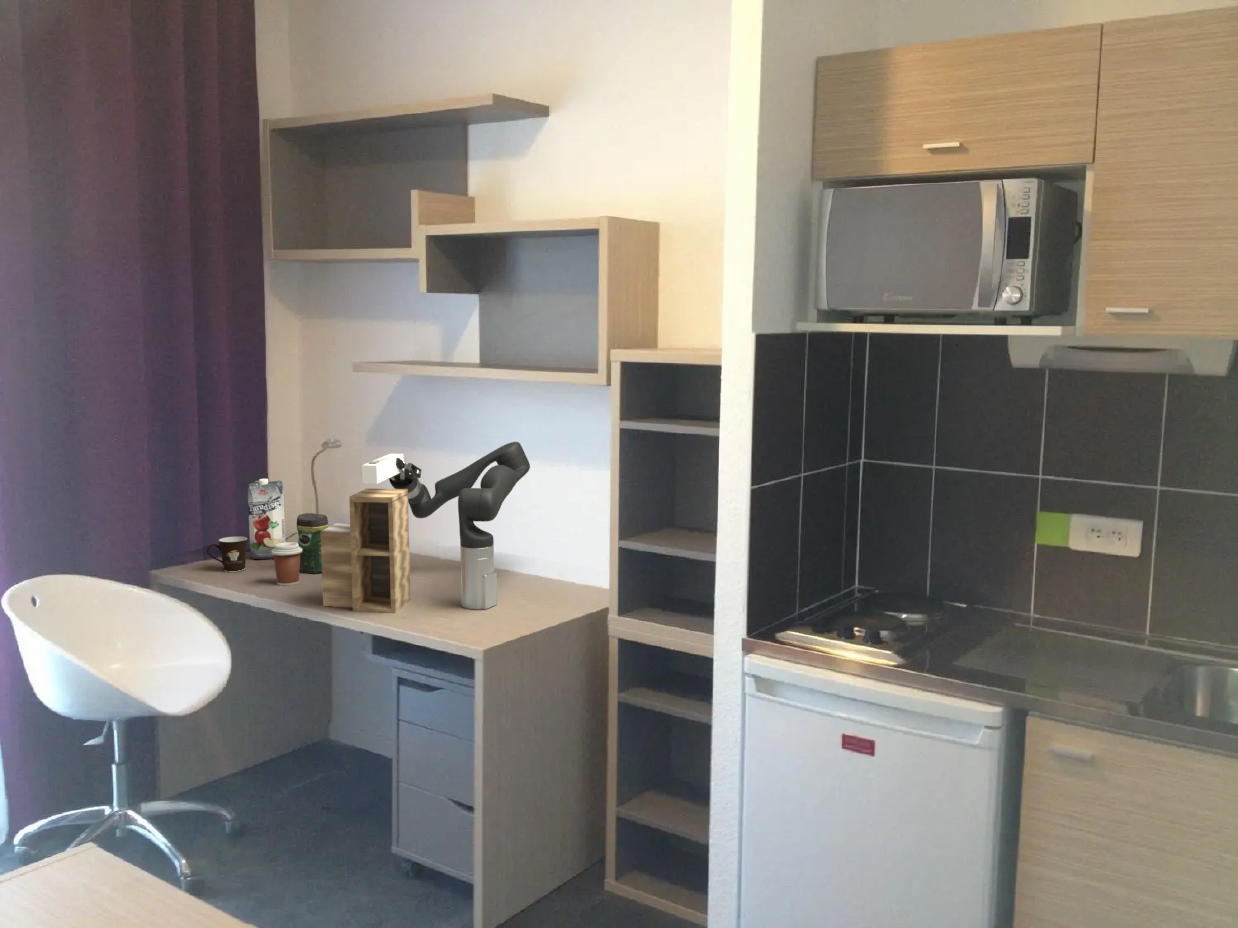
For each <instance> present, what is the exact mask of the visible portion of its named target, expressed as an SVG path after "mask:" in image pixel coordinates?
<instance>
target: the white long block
mask: <svg viewBox="0 0 1238 928" xmlns="http://www.w3.org/2000/svg"><path fill="white" fill-rule="evenodd" d="M396 458H400V459H401V460H402V461H403V462H405V461H404V453H389V454H386V455H383V456H381V457H379V458H376V459H374V460H372V461H369V462H367V463H364V464H361V470H362V471H361V473H362V474H361V475H362V476H361V477H362V484H363V485H364V484H366V485H369V484H370V485H371V484H373V485H377V484H380V483H382V482H384V481H387V480H389V479H388V478H390V477H392V476H395V475H397V474H399V473H401V471H400V470H401V469H399V468H398V467H397V466H396Z"/></svg>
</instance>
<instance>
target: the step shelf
mask: <svg viewBox="0 0 1238 928" xmlns="http://www.w3.org/2000/svg"><path fill="white" fill-rule="evenodd" d="M409 518H410V515H409V503H408V489H394V488H364V489H363V490H360V491H358V492H356V493H353V494H351V495H349V522H348V523H347V522H336V523H334V524H332V525H330V526H328V528H326V529H324V530H322V532H321V556H322V572H321V578H322V579H321V580H322V583H321V584H322V604H323V605H322V607H325V606H333V607H334V608H352V612H358V613H359V612H361V613H365V612H367V613H397V612H398V611H399V610H400V609H402V608H403V607H404V606H405V605H406V604H408V602H409V601H411V572H410V571H411V567H410V563H411V562H410V526H409V525H410V522H409ZM333 607H332V608H333Z"/></svg>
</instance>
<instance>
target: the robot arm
mask: <svg viewBox="0 0 1238 928" xmlns="http://www.w3.org/2000/svg"><path fill="white" fill-rule="evenodd" d="M495 462H496V465H493V466H492V467H490V468H489V469H488V470H487V471H486V472H485V473H484V475H483V476H482V478H481V480H480V487H478V488H477V487H474V485H475V483H476V482H477V480H478V479H479V478H480V476H481V475H482V473H483V472H484V471H485V470H486V468H487V467H489V466H490V465H491V464H493V463H495ZM396 466H397V467H398V468H399V469H401V470H400V471H401V473H399V474H397V475H395V476H392V477H390V478H388V479H387V480H389V482H390V483H389V484H390V485H391V486H392V487H393V489H408V506H409V507H410V511H411V513H412V515H413V517H415V518H416V519H426V518H427V517H430V516H431V515H432V514H434V513H435V512H437V510H438V509H440V508H441V507H442V506H443V505H444V504H446V503H448V502H449V501H451V500H453V499H456V498H457V510H458V522H459V524H458V525H459V527H458V529H459V540H460V541H459V542H460V548H459V549H460V598H461V599H460V600H461V601H460V604H461V607H462V608H464V609H469V610H488V609H489V608H492V607H494V606H496V605H498V572H497V571H496V570H495V558H494V557H495V556H494V552H495V550H494V549H495V548H494V544H495V543H494V541H495V540H494V536H493V534H492V533H490V532H488V531H485V530H483V529H481V528H480V527H478V526H477V525H476V524H475V522H492V521H493V520H495V518H496V517H497V516H498V514H499V512H500V510H501V507H502V505H503V503H504V501H505V500H506V498H507V496H509V495H510V493H511V492H512V490H513V489H514V487H515V486H516V484H517V483H518V482H519V481H520V480H521V479H522V478H524V477H525V476H526V474H527V473H528V472H529V471H530V469H531V464H530V462H529V459H528V457H527V454H526V453H525V451H524V449H523V446H522V445H521V442H519V441H512V442H508V443H506V444H504V445H502V446H500V447H498V448H496V449H494V450H492V451H491V452H489V453H488V454H486V455H484V456H482V457H481V458H479V459H477V460H475V461H474V462H472V463H470V464H469V465H467V466H466V467H463V469H461V470H459V471H457V472H455V473H452V474H451V475H448V476H446V477H444V478H442V479H439V480H438V481H436V482H435V483H434V491H435V493H434V496H432V497H431V495H430V492H429V490H428V487H427V486H426V485H425V484H424V483H421V480H420V479H421V478H422V477H421V476H422V469H421V468H420V467H418V466H417V465H415V464H413V463H412V462H408V463H406V462H405V461H404V462H403V461H402V460H401V459H400V458H396Z"/></svg>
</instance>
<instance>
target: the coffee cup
mask: <svg viewBox="0 0 1238 928" xmlns="http://www.w3.org/2000/svg"><path fill="white" fill-rule="evenodd" d="M300 553H302V548H300V547H299V542H293V541H292V542H291V541H285V542H284V543H278V544H275V548H274V549H273V550H272V551H271V554H273V555H274V560H273V562H274V567H275V568H274V569H275V575H276V576H275V577H276V584H277V585H278V584H279V585H278V586H281V585H289V586H295V585H298V584H299V583H300V571H299V568H300ZM297 583H298V584H297ZM294 584H295V585H294Z"/></svg>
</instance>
